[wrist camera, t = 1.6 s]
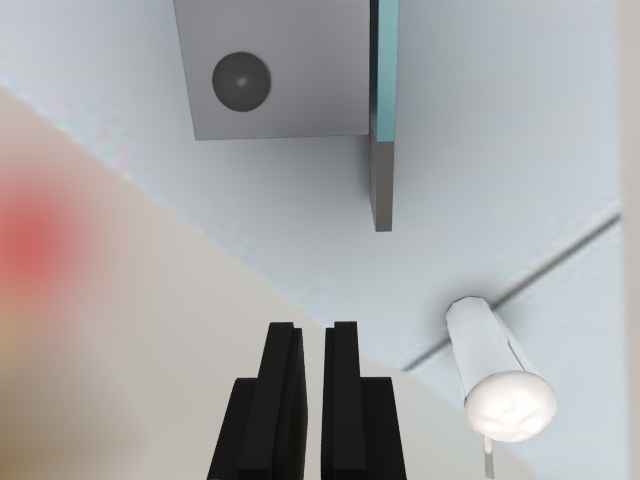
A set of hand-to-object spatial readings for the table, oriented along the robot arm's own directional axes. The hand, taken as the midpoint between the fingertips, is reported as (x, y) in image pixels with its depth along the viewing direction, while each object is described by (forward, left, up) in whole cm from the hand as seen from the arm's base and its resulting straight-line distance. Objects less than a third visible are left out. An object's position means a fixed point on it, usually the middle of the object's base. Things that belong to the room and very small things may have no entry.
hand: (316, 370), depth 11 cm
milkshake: (+11, +9, -17) cm, 22 cm away
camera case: (-7, -2, -17) cm, 19 cm away
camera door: (-5, +3, -17) cm, 18 cm away
